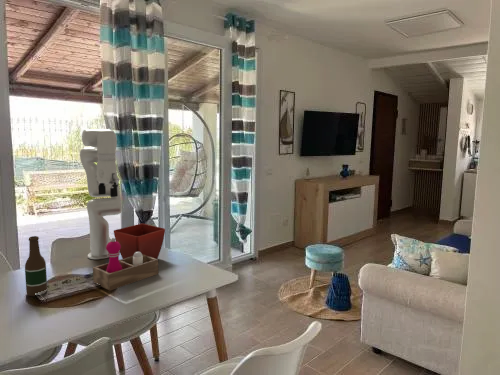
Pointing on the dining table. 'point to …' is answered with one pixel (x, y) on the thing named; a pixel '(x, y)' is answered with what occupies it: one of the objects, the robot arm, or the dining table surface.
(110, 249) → the pepper mill
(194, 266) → the dining table surface
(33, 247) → the beer bottle
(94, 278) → the caddy
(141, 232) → the plant pot
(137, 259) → the salt shaker
